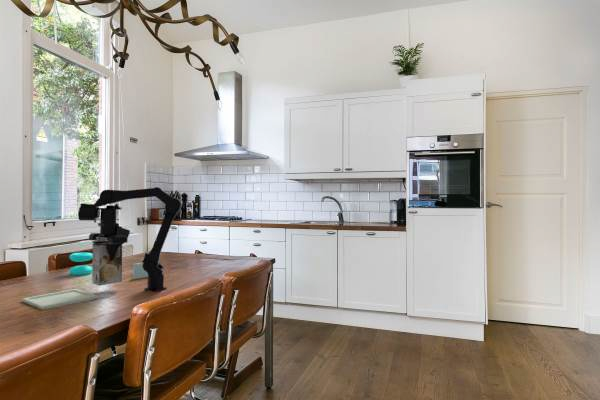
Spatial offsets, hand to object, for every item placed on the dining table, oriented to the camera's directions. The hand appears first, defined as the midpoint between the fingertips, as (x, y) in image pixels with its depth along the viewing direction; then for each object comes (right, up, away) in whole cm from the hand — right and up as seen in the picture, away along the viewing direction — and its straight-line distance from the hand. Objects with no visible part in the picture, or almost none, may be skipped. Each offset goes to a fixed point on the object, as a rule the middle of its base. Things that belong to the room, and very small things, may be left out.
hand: (107, 259), depth 149 cm
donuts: (-30, -12, +32) cm, 45 cm away
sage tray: (-10, -13, -14) cm, 21 cm away
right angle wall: (0, -14, +32) cm, 34 cm away
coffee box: (0, -10, 0) cm, 10 cm away
